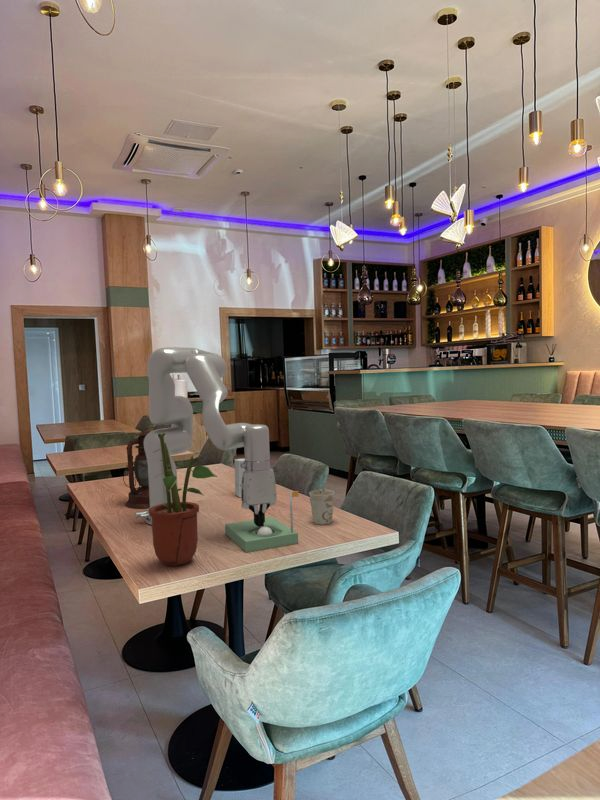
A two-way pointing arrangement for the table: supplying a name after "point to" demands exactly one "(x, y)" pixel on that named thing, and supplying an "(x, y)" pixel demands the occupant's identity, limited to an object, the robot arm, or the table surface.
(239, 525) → the putting mat
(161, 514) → the potted plant
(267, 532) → the ball
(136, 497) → the lantern
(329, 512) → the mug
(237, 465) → the skincare box
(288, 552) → the table surface
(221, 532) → the table surface
